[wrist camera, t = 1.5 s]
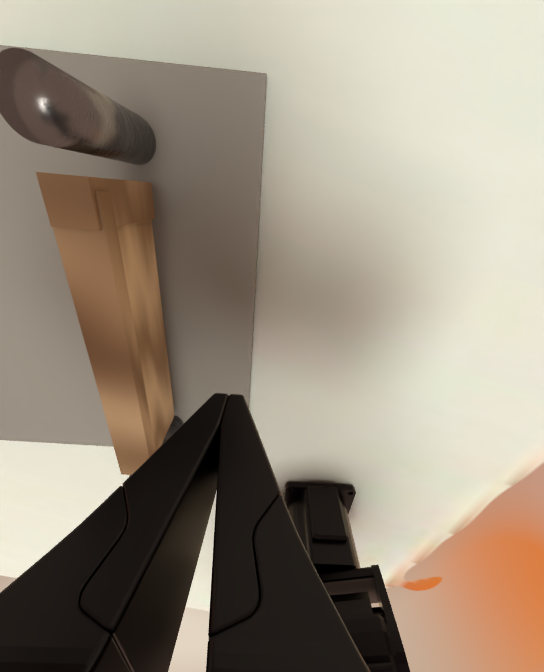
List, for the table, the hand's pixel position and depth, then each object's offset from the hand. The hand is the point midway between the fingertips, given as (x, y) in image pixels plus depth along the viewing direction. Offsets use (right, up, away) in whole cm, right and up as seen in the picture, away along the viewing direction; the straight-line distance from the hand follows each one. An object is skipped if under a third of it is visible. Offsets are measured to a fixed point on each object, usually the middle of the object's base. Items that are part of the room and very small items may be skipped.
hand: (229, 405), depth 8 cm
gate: (-6, +3, +8) cm, 11 cm away
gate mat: (-11, +4, +9) cm, 15 cm away
